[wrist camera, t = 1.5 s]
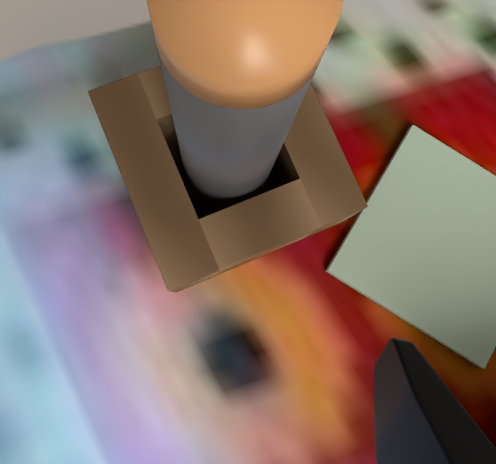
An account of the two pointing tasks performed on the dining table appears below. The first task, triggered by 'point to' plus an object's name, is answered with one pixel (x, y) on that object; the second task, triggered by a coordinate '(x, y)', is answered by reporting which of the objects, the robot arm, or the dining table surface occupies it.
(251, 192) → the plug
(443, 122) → the dining table surface
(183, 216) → the socket block
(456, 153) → the mat
